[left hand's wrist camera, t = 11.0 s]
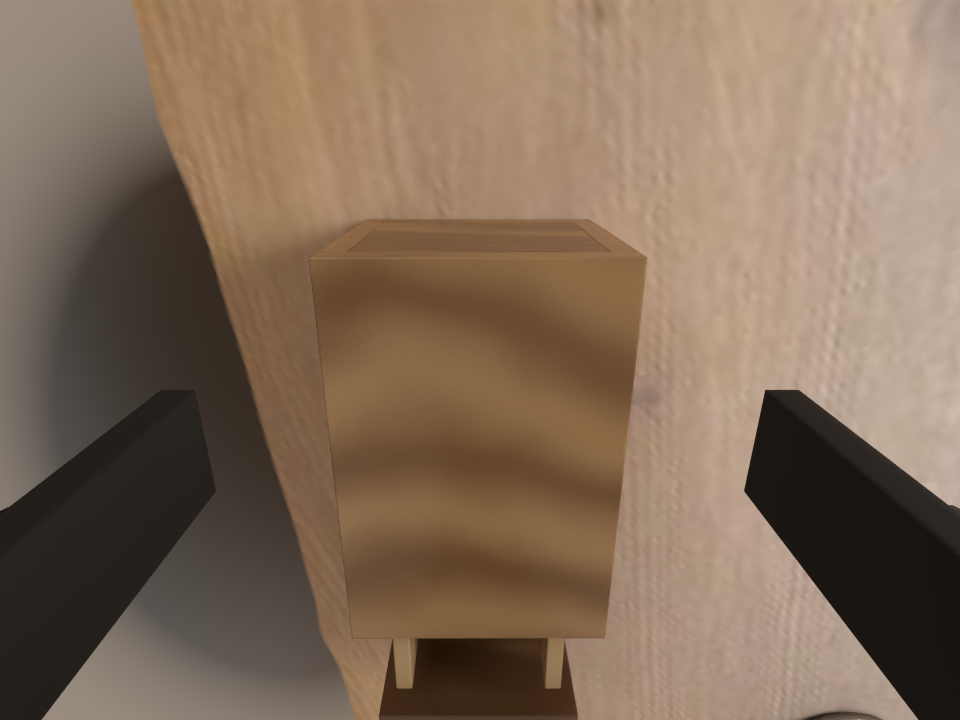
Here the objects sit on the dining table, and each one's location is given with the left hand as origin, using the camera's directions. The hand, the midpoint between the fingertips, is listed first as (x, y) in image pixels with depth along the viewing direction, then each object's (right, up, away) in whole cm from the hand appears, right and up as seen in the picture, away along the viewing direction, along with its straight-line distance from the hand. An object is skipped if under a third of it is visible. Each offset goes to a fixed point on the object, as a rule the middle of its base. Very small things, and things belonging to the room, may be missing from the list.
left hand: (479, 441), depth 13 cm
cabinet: (0, +1, +18) cm, 18 cm away
